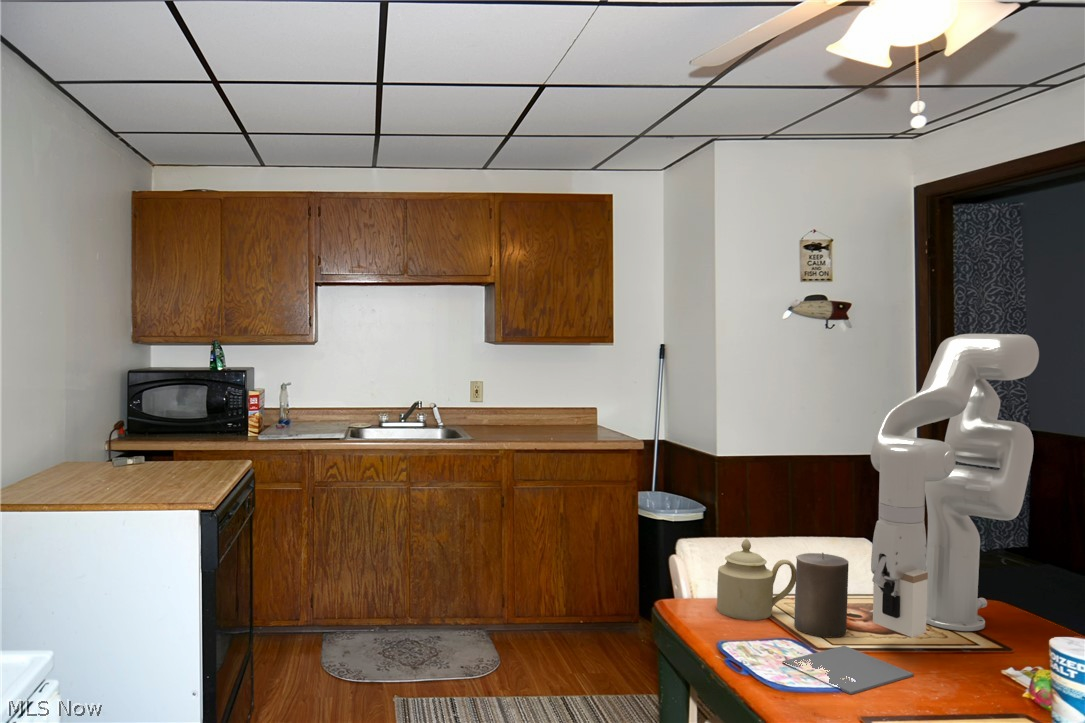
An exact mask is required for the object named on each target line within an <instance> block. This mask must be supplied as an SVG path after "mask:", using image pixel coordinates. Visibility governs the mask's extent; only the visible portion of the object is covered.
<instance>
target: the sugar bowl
mask: <svg viewBox="0 0 1085 723" xmlns="http://www.w3.org/2000/svg"><path fill="white" fill-rule="evenodd" d="M751 548H752V544H751V542H750V540H749V539H748V538H745V539H743V541H742V543H741V549H742V550H738V551H734V552H731V553H730V554H728V555H726V556H725V557H724V559H725V560H726V562H725V564H722V565H721V566H719V567H718V570H717V582H716V583H717V584H716V585H717V587H716V588H717V589H716V590H717V593H716V594H717V595H716V596H717V597H716V609H717V611H718V612H719V613H720V614H722V615H724V616H726V617H729V618H732V619H736V620H742V621H743V620H744V621H760V620H767V619H769V618H770V617H771V616H772V614H773V607H774V606H775V605H776V604H777V603H779V602H780V601H782V600H783V599H784V598H785V597H787V596H788V595H789V594H790V593H791V592H792V590H793V588H794V587H795V586H796V565H795V564H794V563H793V562H792V561H790V560H788V559H780V560H778V561H776V563H775V564H774V565H773V567H772V570H770V569H769V568H767V567H766V564H767V560H766V559H765V558H764V557H763V556H761V555H760V554H758V553H757V552H753V551H750V550H751ZM783 565H788V567H789V568H790V571H791V575H790V580H789V582H788V584H787V586H785V588H784V589H783V590H782V591H781V592H779V593H778V594H776V595H775V596H774V584H775V581H776V577H777V574H778V572H779V569H780V568H781V567H782V566H783Z"/></svg>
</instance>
